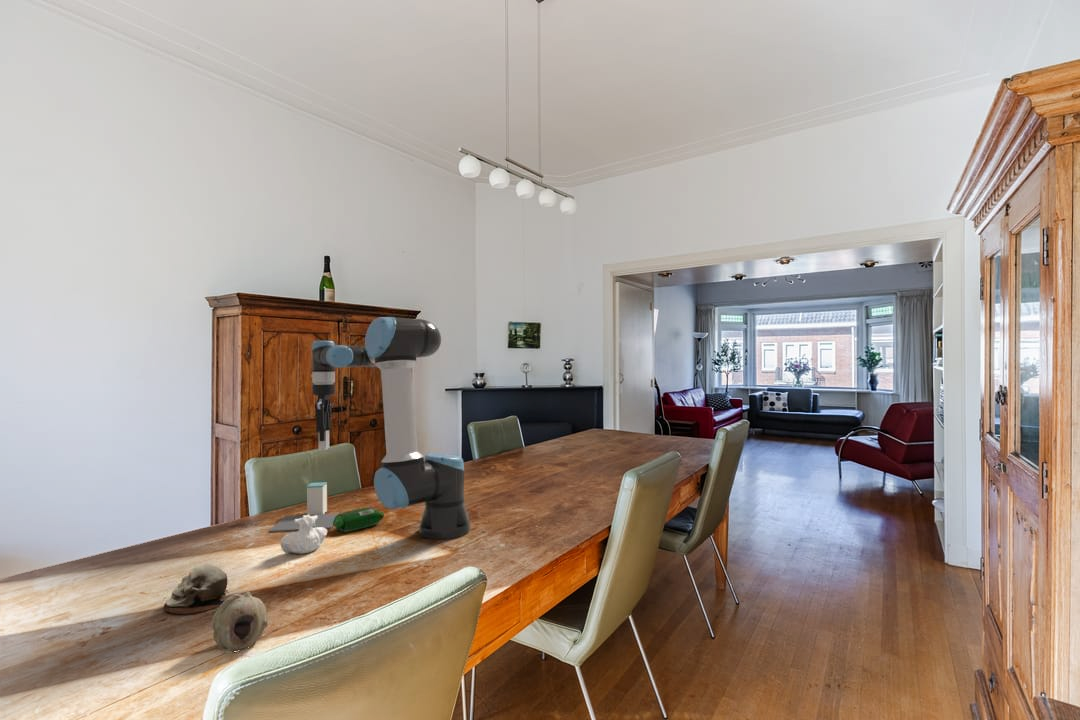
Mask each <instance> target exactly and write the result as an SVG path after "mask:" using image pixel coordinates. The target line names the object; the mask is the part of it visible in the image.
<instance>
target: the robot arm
mask: <svg viewBox="0 0 1080 720" xmlns="http://www.w3.org/2000/svg"><path fill="white" fill-rule="evenodd" d="M364 339H365V340H364V345H362V346H360V345H343V344H341V345H340V344H335V342H334V341H333V340H314V341H313V342H312V344H311V345H312V346H311V367H312V368H311V369H312V370H311V372H312V374H311V375H310V377H311V380H312V383H313V384H312V385H311V387H312V389H311V393H312V395H313V396H317V400H316V403H315V404H314V409H315V425H316V428H315V429H316V430H315V432H316V433H318V451H327V450H328V449H330V431H331V430H332V429H333V428H332V407H333V405H332V404H333V401H332V400H331V397H330V396H331V395H335V394H336V385H335V382H336V368H338V369H341V368H360V367H361V368H364V367H365V368H378V369H379V370H380V376H381V379H380V380H381V391H382V394H381V395H382V405H383V407H382V408H383V421H384V423H383V424H384V434H385V436H384V437H385V438H384V439H385V450H386V454H385V455H384V457H383V458H382V459H381V467H380V468H379V469H378V470H376V471H375V473H374V476H373V486H374V491H375V494H376V496H377V499H378V500H379V502H380V503H381V504H382V506H384V507H385V508H386V509H389V510H398V509H405V508H407V507H411V506H414V505H418V504H423V503H424V510H423V512H422V516H421V520H420V522H419V526H418V527H419V529H418V531H419V535H420V536H421V537H423V538H426V539H431V540H449V539H454V538H459V537H461V536H462V537H463V536H465V535H467V533H469V532H470V530H471V522H470V518H469V515H468V511H467V510H466V509H467V508H466V506H465V465H464V459H463V458H462V457H461V456H459V455H455V454H447V453H428V454H425V455H423V454H422V453H421V452H420V451H419V450H418V439H417V438H418V437H417V425H416V424H417V423H416V410H415V398H414V397H415V396H414V384H413V381H414V380H413V368H414V366H415V365H416V363H417V358H427V357H430V356H433V355H434V354H435V353H436V352H438V351H439V349H440V347H441V345H442V336H441V332H440V330H439V328H438V327H437V326H436V325H435V324H434V323H432V322H431V321H428V320H425V319H422V318H407V317H397V316H381V317H380V316H378V317H377V318H374V319H373V320H372V321H371V323H370V324H369V326H368V328H367V331H366V333H365V338H364Z"/></svg>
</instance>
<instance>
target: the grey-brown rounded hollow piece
mask: <svg viewBox="0 0 1080 720" xmlns="http://www.w3.org/2000/svg"><path fill="white" fill-rule="evenodd" d="M268 619H269V618H268V609H267V607H266V605H265V604H264V601H263V600H261V598H258V597H257V596H256V597H255V596H253V595H252V593H251V592H250V591H247V592H245V593H243V594H239V593H234V594H232V595H231V596H229V597H228V598H226V599H225V600H224V601H223V603H221V605H220V606H218V607H217V610H216V612H215V613H214V615H213V617H212V620H211V626H212V630H213V634H212V638H213V641H214V642H215V643H216V644H217V645H216V646H217V647H218V648H219V649H220V650H223V652H224V653H226V654H232V653H231V652H234V651H238V650H240V651H242V650H241V649H243V650H245V649H244V648H246V649H249V648H251V647H252V646H253V644H254V643H255V642H256V641H258V640H259V639H260V638H261V637H262V636H263V633H264V631H265V629H266V628H267V627H268V626H269V623H270V621H268ZM250 646H251V647H250ZM248 647H249V648H248ZM238 652H239V651H238Z"/></svg>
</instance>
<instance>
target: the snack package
mask: <svg viewBox="0 0 1080 720" xmlns="http://www.w3.org/2000/svg"><path fill="white" fill-rule="evenodd" d="M339 513H340V514H338V515H337V516H336V517H335V518H334V521H333V527H335V528H336V530H338V531H341V532H343V533H350V531H351V532H355V531H359V530H362V529H366V528H370V527H374V526H376V525H378V524H379V523H380V522H381V521H382V519H384V517H385V514H384V513H382V511H379V510H377V509H375V508H373V507H363V508H359V509H358V508H357V509H353V510H348V511H344V512H339ZM358 529H359V530H358ZM354 530H355V531H354Z"/></svg>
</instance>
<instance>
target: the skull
mask: <svg viewBox="0 0 1080 720" xmlns="http://www.w3.org/2000/svg"><path fill="white" fill-rule="evenodd" d="M227 587H228V576H227V573H226V572H225V571H224V570H223V569H221V568H220V567H218V566H216V565H213V564H209V563H205V564H201V565H198V566H196V567H194V568H192V569H191V570H189V573H188V575H187V576H184V577H183V578H182V579H181V582H180V583H178V584H177V587H175V588H174V589H173V590H172V592H171V596H170V597H169V599H167V600H166V602H165V603H164V605H163V610H164V611H166V612H168V613H172V614H177V615H181V614H182V615H189V614H194V613H202V612H205V611H209V610H211V609H216V608H219V607H220V605H221V604H222V603H223V602H224V601H225V600H224V599H223V598H225V597H226V595H227V594H230V590H229V589H227Z"/></svg>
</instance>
